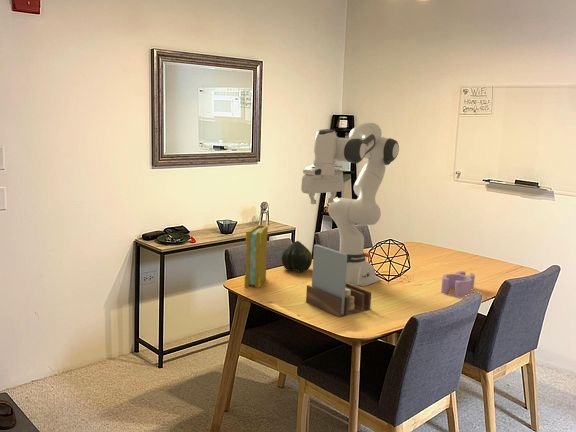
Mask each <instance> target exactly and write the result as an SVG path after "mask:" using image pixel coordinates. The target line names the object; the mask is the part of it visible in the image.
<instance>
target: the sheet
mask: <svg viewBox="0 0 576 432" xmlns="http://www.w3.org/2000/svg"><path fill="white" fill-rule="evenodd" d="M339 251H340V250H336V249H332V248H329V247H325V246H324V245H320V244H314V245H313V254H312V255H313V256H312V271H311V272H312V273H311V274H312V275H311V286H312V287H314V288H317V289H319V290H322V291H324V292H326V293H329V294H331V295H334V296H336V297H339V298H341V299H342V307H341V315H344V303H345V287H346V283H347V282H346V271H347V254H345V253H342V252H339Z"/></svg>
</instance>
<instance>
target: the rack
mask: <svg viewBox="0 0 576 432" xmlns="http://www.w3.org/2000/svg"><path fill="white" fill-rule="evenodd" d="M345 288H347V289H350V290H351V296H353V297H355V298H354V304H355V307H354V310H351V311H348V310H349V297H347V296H345V303H344V315H341V307H342V299H341V298H339V297H336V296H334V295H331V294H329V293H326V292H324V291H322V290H319V289H317V288H314V287H312V285H310V284H307V285H306V297H305V301H304V303H305V304H308V305H310V306H312V307H314V308H316V309H319V310H321V311H323V312H325V313H327V314H330V315H332V316H334V317H336V318H339V319H340V318H342V317H347V316H352V315H355V314H359V313H364V312H367V311H371V310H373V309H372V308H371V306H372V305H371V304H372V291H369V290H366V289H364V288H360V286H357V285H354V284H351V283H349V282H346V287H345Z"/></svg>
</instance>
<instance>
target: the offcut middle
mask: <svg viewBox="0 0 576 432" xmlns="http://www.w3.org/2000/svg"><path fill="white" fill-rule="evenodd" d="M348 297H349V304H352V303H354V298H355V297H353V296H348Z"/></svg>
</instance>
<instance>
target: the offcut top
mask: <svg viewBox="0 0 576 432" xmlns="http://www.w3.org/2000/svg"><path fill="white" fill-rule="evenodd" d="M345 296H347V297H348V296H351V290H350V289H347V288H345Z"/></svg>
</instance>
